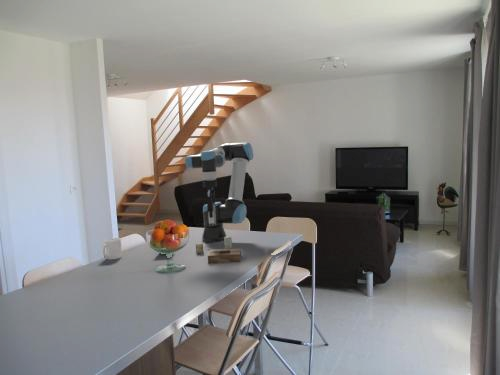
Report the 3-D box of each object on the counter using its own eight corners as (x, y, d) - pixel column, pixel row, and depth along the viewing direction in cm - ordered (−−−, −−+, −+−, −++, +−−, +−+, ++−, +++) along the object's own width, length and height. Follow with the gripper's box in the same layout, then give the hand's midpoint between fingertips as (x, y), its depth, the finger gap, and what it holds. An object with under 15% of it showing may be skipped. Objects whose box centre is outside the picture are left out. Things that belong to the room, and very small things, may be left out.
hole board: (211, 257, 216) (211, 249, 215) (241, 255, 215) (241, 248, 214) (208, 263, 204) (207, 255, 203) (240, 262, 203) (239, 254, 203)
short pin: (196, 252, 228) (196, 243, 228) (204, 251, 228) (203, 242, 228) (195, 254, 224) (194, 245, 224) (202, 253, 224) (202, 244, 224)
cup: (125, 256, 229) (123, 238, 228) (110, 262, 218) (108, 243, 217) (114, 255, 232) (112, 237, 231) (98, 261, 221) (96, 242, 220)
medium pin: (225, 250, 227) (224, 236, 227) (232, 250, 227) (231, 236, 226) (224, 252, 223) (223, 238, 223) (231, 252, 223) (230, 237, 222)
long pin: (209, 224, 225) (208, 203, 224) (216, 224, 224) (215, 202, 223) (208, 226, 221) (206, 204, 220) (215, 225, 220) (214, 203, 219)
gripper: (205, 178, 229) (208, 220, 231) (199, 181, 212) (202, 225, 214) (218, 178, 228) (221, 219, 231) (214, 180, 211) (217, 225, 214)
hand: (212, 222), depth 222 cm, fingers closed on long pin, 4 cm apart
